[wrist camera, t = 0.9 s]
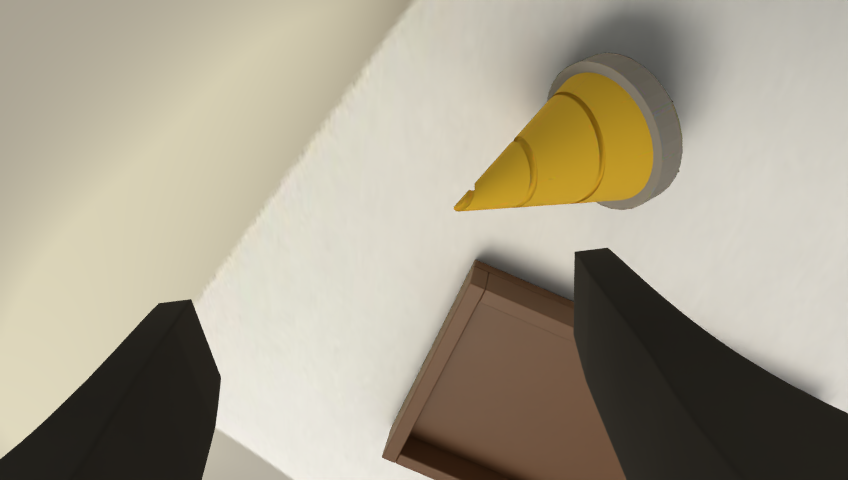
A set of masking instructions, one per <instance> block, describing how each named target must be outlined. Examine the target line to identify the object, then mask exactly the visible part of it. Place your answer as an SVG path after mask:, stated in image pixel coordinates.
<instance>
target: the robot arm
mask: <svg viewBox="0 0 848 480" xmlns="http://www.w3.org/2000/svg"><path fill="white" fill-rule="evenodd" d="M573 335H574V339H575V342H576V346H577V350H578V354H579V358H580V361H581V365H582V369H583V372H584V376H585V379H586V382H587V385H588V387H589V390H590V392H591V395H592V397H593V400H594V402H595V405H596V407H597V410H598V412H599V415H600V417H601V419H602V422H603V424H604V427H605V429H606V432H607V434H608V436H609V439H610V441H611V444H612V446H613V448H614V451H615V453H616V456H617V458H618V460H619V463H620V465H621V468H622V470H623V473H624V475H625V477H626V480H848V413H846V412H844V411H842V410H839V409H837V408H835V407H833V406H831V405H829V404H827V403H825V402H823V401H821V400H819V399H817V398H815V397H813V396H811V395H809V394H807V393H805V392H804V391H802V390H800V389H798V388H796V387H794V386H792V385H790V384H788V383H787V382H785V381H783V380H781V379H779V378H778V377H776V376H774V375H772V374H771V373H769V372H767V371H766V370H764V369H762V368H761V367H759V366H758V365H756V364H754V363H753V362H751V361H749V360H748V359H746V358H745V357H743V356H741V355H740V354H738V353H737V352H735V351H734V350H732V349H731V348H729V347H728V346H726V345H725V344H723V343H722V342H720V341H719V340H718V339H716V338H715V337H713V336H712V335H711V334H709V333H708V332H706V331H705V330H704V329H702V328H701V327H700V326H698V325H697V324H696V323H694V322H693V321H692V320H691V319H689V318H688V317H687V316H686V315H684V314H683V313H682V312H681V311H679V310H678V309H677V308H676V307H675V306H673V305H672V304H671V303H670V302H668V301H667V300H666V299H665V298H664V297H662V296H661V295H660V294H659V293H658V292H657V291H655V290H654V289H653V288H652V287H651V286H650V285H649V284H647V283H646V282H645V281H644V280H643V279H642V278H641V277H640V276H638V275H637V274H636V273H635V272H634V271H633V270H632V269H631V268H630V267H629V266H627V265H626V264H625V263H624V262H623V261H622V260H621V259H620V258H619V257H618V256H617V255H615V254H614V253H613V252H612V251H611V250H610V249H608V248H602V249H594V250H586V251H578V252H575V270H574V333H573ZM220 382H221V377H220V374H219V371H218V369H217V366H216V363H215V361H214V358H213V356H212V353H211V350H210V348H209V345H208V342H207V340H206V337H205V335H204V332H203V329H202V327H201V324H200V321H199V319H198V316H197V314H196V311H195V308H194V306H193V303H192V300H191V299H190V300H183V301H175V302H167V303H159V304H158V305H157V306H156V307H155V308H154V309H153V310H152V311H151V312H150V313H149V314H148V315H147V316H146V317H145V318H144V319H143V320H142V321H141V322H140V324H139V325H138V326H137V327H136V328H135V329H134V330H133V331H132V332H131V333H130V334H129V336H128V337H127V338H126V339H125V340H124V341H123V342H122V343H121V344H120V345H119V346H118V347H117V349H116V350H115V351H114V352H113V353H112V354H111V355H110V356H109V357H108V358H107V359H106V360H105V361H104V362H103V363H102V365H101V366H100V367H99V368H98V369H97V370H96V371H95V372H94V373H93V374H92V375H91V376H90V377H89V378H88V379H87V380H86V381H85V382H84V383H83V384H82V385H81V386H80V387H79V388H78V389H77V390H76V391H75V392H74V393H73V394H72V395H71V396H70V397H69V398H68V399H67V400H66V401H65V402H64V403H63V404H62V405H61V406H60V407H59V408H58V409H57V410H56V411H54V413H52V414H51V416H50V417H48V418H47V419H46V420H45V421H44V422H43V423H42V424H41V425H40V426H39V427H38V428H37V429H35V430H34V431H33V432H32V433H31V434H30V435H29V436H27V437H26V438H25V439H24V440H23V441H22V442H21V443H19V444H18V445H17V446H16V447H15V448H13V449H12V450H11V451H10V452H9V453H7V454H6V455H5V456H4V457H2V458H1V459H0V480H202V476H203V472H204V468H205V465H206V461H207V457H208V453H209V449H210V446H211V441H212V438H213V433H214V430H215V425H216V417H217V410H218V401H219V392H220Z"/></svg>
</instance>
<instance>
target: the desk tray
mask: <svg viewBox="0 0 848 480" xmlns="http://www.w3.org/2000/svg"><path fill="white" fill-rule="evenodd" d="M573 333H574V302H573V301H571V300H568V299H566V298H564V297H561V296H559V295H557V294H554V293H552V292H550V291H547V290H545V289H543V288H540V287H538V286H536V285H533V284H531V283H529V282H526V281H524V280H522V279H520V278H517V277H515V276H513V275H510V274H508V273H506V272H503V271H501V270H499V269H496V268H494V267H492V266H489V265H487V264H485V263H482V262H480V261H478V260H475V261H474V263H473V265H472V267H471V269H470V271H469V273H468V275H467V277H466V279H465V281H464V283H463V285H462V287H461V289H460V291H459V293H458V295H457V297H456V299H455V301H454V303H453V305H452V307H451V309H450V311H449V313H448V315H447V317H446V319H445V321H444V323H443V325H442V327H441V329H440V331H439V333H438V335H437V337H436V339H435V341H434V343H433V345H432V347H431V349H430V351H429V353H428V355H427V357H426V359H425V361H424V363H423V365H422V367H421V369H420V371H419V373H418V375H417V377H416V379H415V381H414V383H413V385H412V387H411V389H410V391H409V393H408V395H407V397H406V399H405V401H404V403H403V405H402V407H401V409H400V411H399V413H398V415H397V418H396V420H395V422H394V424H393V426H392V428H391V430H390V433H389V437H388V439H387V442H386V446H385V449H384V452H383V455H382V458H384V459H387V460H389V461H391V462H394V463H395V462H396V463H397V464H399V465H401V466H404V467H406V468H408V469H411V470H413V471H416V472H418V473H420V474H423V475H425V476H427V477H430V478H432V479H434V480H626V477H625V475H624V473H623V470H622V468H621V465H620V463H619V460H618V458H617V456H616V453H615V451H614V448H613V446H612V444H611V441H610V439H609V436H608V434H607V432H606V429H605V427H604V424H603V422H602V419H601V417H600V415H599V412H598V410H597V407H596V405H595V402H594V400H593V397H592V395H591V392H590V390H589V387H588V385H587V382H586V379H585V376H584V372H583V369H582V365H581V361H580V358H579V354H578V350H577V346H576V342H575V339H574V335H573Z"/></svg>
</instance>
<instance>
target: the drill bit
mask: <svg viewBox="0 0 848 480" xmlns="http://www.w3.org/2000/svg"><path fill="white" fill-rule="evenodd" d="M672 102H673V101H671V100H670V98H669V96H668V94H667V92H666V91H665V89H664V88H663V87H662V85H661V84H660V83H659V81H658V80H657V79H656V77H655V76H653V75H652V74H651V73H650V72H649V71H648V70H647V69H646V68H645V67H644V66H642V65H641V64H639V63H637V62H636V61H634V60H633V59H631V58H628V57H625V56H623V55H620V54H613V53H603V54H596V55H594V56H592V57H589V58H587V59H584V60H582V61H580V62H577V63H575V64H573V65H571V66H568V67H566V68H565V69H564V70H563V71H562V72H561V73H559V75H558V76H557V77H556V79H555V80H554V82H553V84H552V86H551V89H550V91H549V94H548V100H547V103H546V104H545V105H544V106H543V107H542V108H541V110H540V111H539V112H538V113H537V114H536V115H535V116H534V117H533V119H532V120H531V121H530V122H529V123H528V124H527V125H526V126H525V128H524V129H523V130H522V131H521V132H520V133H519V134H518V135H517V137H516V138H515V139H514V141H513V142H511V143H510V144H509V146H508V147H507V148H506V149H505V150H504V151H503V152H502V153H501V155H500V156H499V157H498V158H497V159H496V160H495V161H494V162H493V164H492V165H491V166H490V167H489V168H488V169H487V170H486V171H485V173H484V174H483V175H482V176H481V177H480V178H479V179H478V180H477V182H476V183H475V190H474V191H471V190H469V191H468V192H467V193H466V194H465V195H464V196H463V197H462V198H461V200H460V201H459V202H458V203H457V204H456V205H455V206H454V210H456V211H472V210H486V209H500V208H515V207H529V206H544V205H558V204H573V203H587V202H597V203H598V204H600V205H603V206H605V207H608V208H611V209H619V210H625V209H632V208H634V207H637V206H639V205H641V204H643V203H645V202H647V201H648V200H650V199H652V198H654V197H656V196H657V195H659V194H661V193H662V192H663V191H664V190H666V189H667V188H668V187H669V186H670V184H671V183H672V182H673V180H674V179H675V177H676V175H677V173H678V172H679V167H680V164H681V157H682V133H681V128H680V123H679V119H678V116H677V114H676V111H675V108H674V105H673V103H672Z"/></svg>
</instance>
